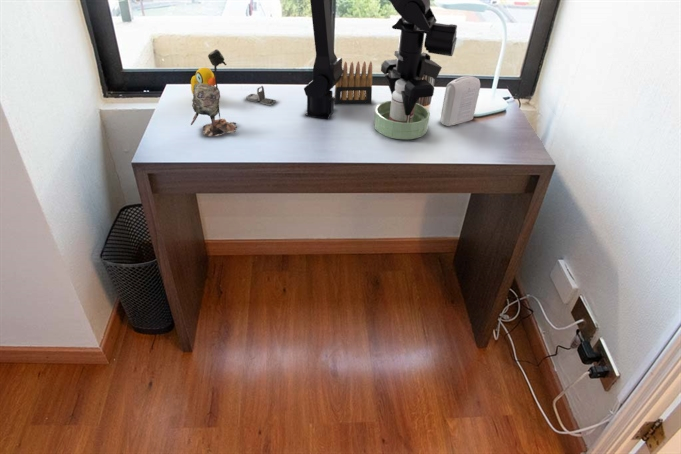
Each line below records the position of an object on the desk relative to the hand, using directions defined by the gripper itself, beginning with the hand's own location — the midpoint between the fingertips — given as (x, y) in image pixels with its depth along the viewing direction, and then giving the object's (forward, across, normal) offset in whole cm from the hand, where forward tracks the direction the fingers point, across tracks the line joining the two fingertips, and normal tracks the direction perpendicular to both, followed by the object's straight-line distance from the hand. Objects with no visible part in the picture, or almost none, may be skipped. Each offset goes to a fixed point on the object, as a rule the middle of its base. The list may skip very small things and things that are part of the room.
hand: (402, 109), depth 131 cm
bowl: (+5, 0, 0) cm, 5 cm away
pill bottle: (+4, 0, 0) cm, 4 cm away
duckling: (+6, +29, +47) cm, 55 cm away
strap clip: (+6, +26, +32) cm, 41 cm away
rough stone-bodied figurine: (+6, +11, +47) cm, 48 cm away
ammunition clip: (+6, +19, +6) cm, 21 cm away
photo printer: (+6, 0, -17) cm, 18 cm away
